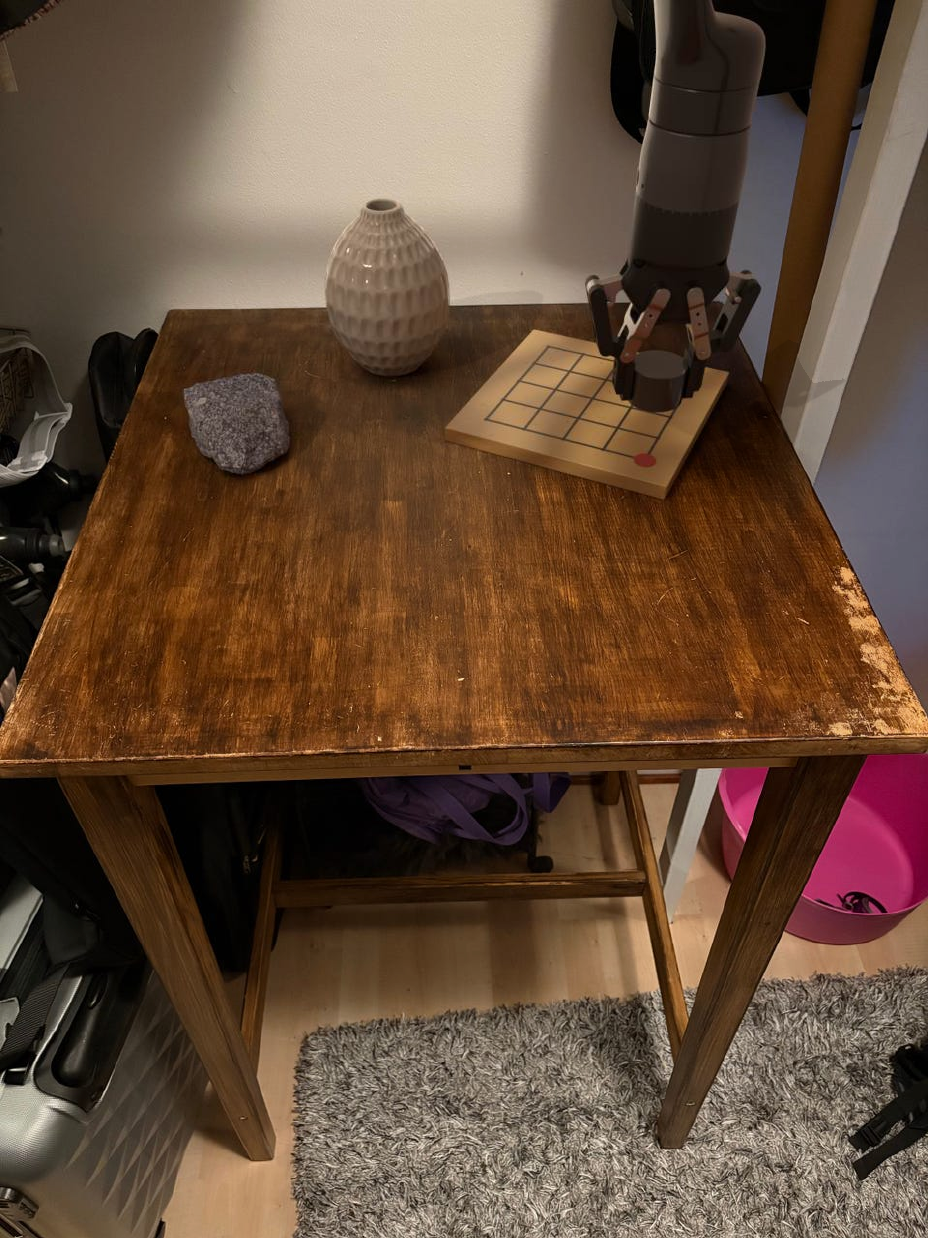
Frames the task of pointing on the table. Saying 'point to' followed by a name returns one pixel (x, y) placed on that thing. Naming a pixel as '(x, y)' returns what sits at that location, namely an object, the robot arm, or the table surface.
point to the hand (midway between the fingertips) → (654, 393)
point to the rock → (238, 421)
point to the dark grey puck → (658, 381)
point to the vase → (387, 290)
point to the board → (581, 417)
